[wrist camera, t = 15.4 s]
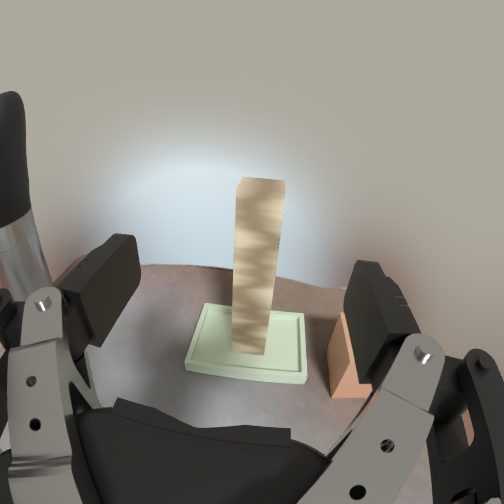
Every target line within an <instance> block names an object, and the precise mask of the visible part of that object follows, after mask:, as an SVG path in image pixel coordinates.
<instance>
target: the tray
mask: <svg viewBox="0 0 504 504" xmlns="http://www.w3.org/2000/svg"><path fill="white" fill-rule="evenodd" d="M231 341H232V306H225V305H217V304H210V303H205V304H204V307H203V310H202V313H201V315H200V318H199V321H198V324H197V327H196V330H195V332H194V335H193V338H192V341H191V344H190V347H189V350H188V353H187V356H186V359H185V362H184V364H185V369H186V371H192V372H198V373H203V374H209V375H216V376H223V377H230V378H238V379H246V380H255V381H265V382H276V383H290V384H305V381H306V379H307V362H306V343H305V327H304V314H303V313H291V312H280V311H270V318H269V325H268V332H267V339H266V346H265V352H264V356H263V355H254V354H246V353H238V352H231Z"/></svg>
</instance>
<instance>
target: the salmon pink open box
mask: <svg viewBox="0 0 504 504" xmlns="http://www.w3.org/2000/svg"><path fill="white" fill-rule="evenodd" d="M326 355H327V363H328V372H329V382H330V392H331V398H367V397H368V395H369V394H370V393H371V391H372V386H371V384H359V381H358V376H357V370H356V365H355V360H354V355H353V350H352V345H351V341H350V336H349V332H348V327H347V323H346V318H345V314H344V313H340V314H339V317H338V320H337V323H336V326H335V329H334V332H333V335H332V337H331V340H330V343H329V345H328V348H327V351H326Z"/></svg>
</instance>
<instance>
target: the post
mask: <svg viewBox="0 0 504 504" xmlns="http://www.w3.org/2000/svg"><path fill="white" fill-rule="evenodd" d="M236 192H237V193H236V215H235V238H234V239H235V240H234V266H233V299H232V341H231V352H238V353H246V354H254V355H263V356H264V352H265V346H266V339H267V332H268V325H269V318H270V311H271V304H272V296H273V289H274V281H275V274H276V266H277V258H278V250H279V242H280V234H281V226H282V217H283V208H284V199H285V181H282V180H272V179H262V178H251V177H243V178H242V180H241V182H240V183H239V185H238V187H237V191H236Z"/></svg>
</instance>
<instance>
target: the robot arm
mask: <svg viewBox="0 0 504 504" xmlns="http://www.w3.org/2000/svg"><path fill="white" fill-rule="evenodd" d="M25 122H26V121H25V111H24V105H23V101H22V99H21V97H20V95H19V94H18V93H16V92H14V91H8V92H5V93H2V94H0V343H1V344H2V346H3V347H4V349H5V350H6V351H5V352H4V354H3V356H2V357H1V359H0V438H1V435H2V433H3V430H4V428H5V426H6V423H7V421H8V425H9V436H10V444H11V449H9V450H7V451H5V452H3V451H2V449H1V448H0V504H393V503H394V502H395V500H396V498H397V497H398V495H399V493H400V491H401V490H402V488H403V486H404V484H405V482H406V481H407V479H408V477H409V475H410V473H411V471H412V469H413V467H414V465H415V463H416V461H417V459H418V457H419V455H420V452H421V450H422V448H423V446H424V443H425V441H426V442H427V449H428V456H429V464H430V472H431V482H432V495H433V504H504V382H503V379H502V376H501V374H500V372H499V370H498V367H497V365H496V363H495V361H494V359H493V358H492V357H491V356H490V355H489V354H488V353H487V352H485V351H483V350H481V349H472V350H470V351H469V352H468V353H467V355H466V356H465V357H464V359H463V360H461V359H457V358H453V357H449V356H445V354H444V351H443V349H442V347H441V346H440V344H439V343H438V342H437V341H436V340H434V339H433V338H431V337H430V336H427V335H424V334H421V332H420V330H419V327H418V325H417V323H416V321H415V319H414V316H413V314H412V312H411V310H410V308H409V307H408V306H407V302H406V300H405V298H403V297H404V296H403V294H402V292H401V290H400V288H399V286H398V285H397V284H396V283H395V282H393V280H392V279H391V278H390V277H385V275H384V273H383V271H382V269H381V267H380V265H379V263H378V262H372V261H364V260H357V261H356V263H355V265H354V269H353V272H352V275H351V278H350V281H349V284H348V287H347V290H346V294H345V297H344V314H345V318H346V323H347V327H348V332H349V336H350V341H351V345H352V350H353V355H354V360H355V365H356V370H357V376H358V381H359V384H371V386H372V391H371V393H370V394H369V395H368V397H367V398H366V400H365V402H364V403H363V405H362V406H361V408H360V409H359V411H358V412H357V414H356V415H355V417H354V418H353V420H352V421H351V422H350V424H349V425H348V427H347V428H346V429H345V431H344V432H343V434H342V435H341V436H340V437H339V439H338V440H337V441H336V442H335V443H334V445H333V446H332V447H331V448H330V449H329V451H328V452H327V453H326V454H325V455H324V454H322V453H321V452H319V451H318V450H316V449H315V448H313V447H311V446H309V445H307V444H304V443H301V442H299V441H296V440H292V439H291V428H275V427H262V426H251V425H240V426H229V427H215V428H196V427H193V426H190V425H188V424H186V423H184V422H182V421H180V420H177V419H175V418H173V417H171V416H169V415H167V414H165V413H163V412H161V411H159V410H158V409H156V408H152V407H148V406H145V405H141V404H138V403H134V402H131V401H128V400H124V399H121V398H118V397H117V400H116V402H115V404H114V407H105V408H102V407H101V405H100V403H99V400H98V398H97V395H96V391H95V387H94V383H93V378H92V374H91V369H90V364H89V359H88V354H87V352H86V350H85V348H86V347H87V345H88V344H91V345H94V346H97V347H101V346H102V344H103V342H104V341H105V339H106V337H107V336H108V334H109V332H110V330H111V329H112V327H113V326H114V324H115V322H116V321H117V319H118V317H119V316H120V314H121V312H122V311H123V309H124V308H125V306H126V305H127V303H128V301H129V300H130V298H131V297H132V295H133V294H134V292H135V290H136V289H137V287H138V286H139V283H140V279H141V268H140V263H139V256H138V250H137V243H136V239H135V237H134V236H133V235H127V234H117V233H116V234H113V235H112V236H111V237H110V238H109V239H108V240H107V241H106V242H105V243H104V244H103V245H101V246H99V247H98V248H96V249H94V250H93V251H91V252H90V253H89V254H88V255H87V256H86V257H85V258H84V260H82V261H81V262H80V263H79V264H78V265H77V267H75V268H74V269H73V270H72V271H71V272H70V273H69V274H68V275H67V277H66V278H65V279H64V280H63V281H62V282H61V283H60V284H59V285H58V286H57V287H56V288H55V287H54V285H53V282H52V279H51V276H50V273H49V270H48V267H47V264H46V261H45V258H44V254H43V251H42V247H41V244H40V240H39V236H38V232H37V229H36V225H35V221H34V216H33V212H32V207H31V202H30V195H29V178H28V169H27V157H26V123H25ZM467 409H468V410H469V414H470V418H471V421H472V425H473V429H474V439H473V442H472V444H471V445H470V446H469V445H468V441H467V436H466V432H465V428H464V423H463V420H462V416H461V415H462V414H463V413H464V412H465V411H466V410H467Z"/></svg>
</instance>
